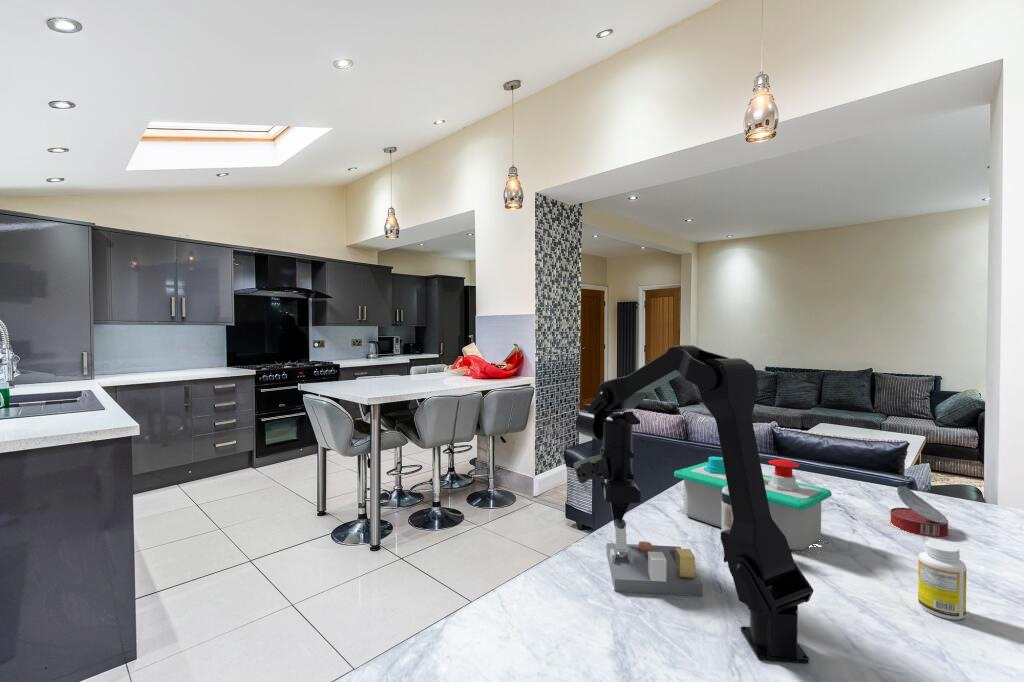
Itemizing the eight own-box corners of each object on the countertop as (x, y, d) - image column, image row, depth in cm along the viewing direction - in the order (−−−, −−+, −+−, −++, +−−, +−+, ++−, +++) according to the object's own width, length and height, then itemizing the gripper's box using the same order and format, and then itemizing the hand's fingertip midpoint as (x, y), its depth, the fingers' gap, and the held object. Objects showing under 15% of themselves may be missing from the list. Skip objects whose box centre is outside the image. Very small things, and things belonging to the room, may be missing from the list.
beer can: (750, 553, 94) (750, 492, 94) (724, 550, 95) (724, 490, 94) (743, 542, 98) (744, 484, 98) (718, 540, 99) (719, 483, 99)
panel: (701, 596, 78) (702, 575, 78) (614, 591, 79) (614, 570, 79) (680, 556, 92) (680, 539, 92) (606, 553, 93) (606, 535, 93)
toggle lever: (628, 559, 85) (626, 517, 88) (616, 558, 85) (614, 517, 88) (627, 560, 86) (625, 519, 90) (615, 559, 87) (613, 519, 90)
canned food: (916, 541, 111) (935, 503, 111) (952, 556, 101) (972, 514, 101) (869, 516, 112) (888, 478, 113) (900, 528, 102) (920, 487, 103)
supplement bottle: (939, 600, 77) (940, 537, 77) (976, 620, 72) (977, 553, 72) (908, 602, 77) (909, 538, 77) (942, 622, 71) (943, 554, 71)
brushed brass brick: (694, 578, 79) (694, 557, 79) (679, 577, 79) (680, 556, 79) (689, 569, 82) (690, 549, 82) (675, 568, 82) (675, 548, 82)
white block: (666, 581, 78) (666, 560, 78) (651, 580, 78) (651, 559, 78) (662, 572, 81) (662, 552, 81) (647, 571, 81) (648, 551, 81)
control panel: (704, 437, 123) (837, 462, 100) (703, 501, 124) (836, 540, 100) (669, 445, 114) (808, 474, 90) (669, 514, 114) (807, 561, 91)
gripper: (574, 434, 104) (574, 505, 104) (577, 454, 85) (577, 541, 86) (626, 435, 103) (626, 507, 103) (641, 456, 84) (640, 544, 84)
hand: (616, 523), depth 94 cm, fingers closed
